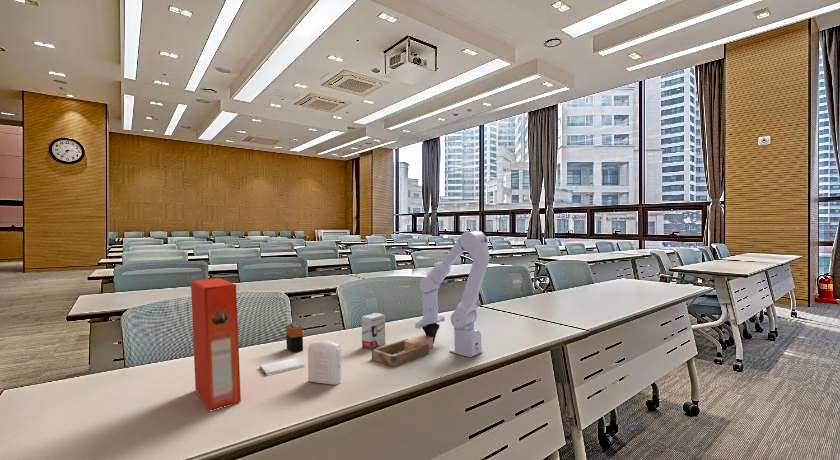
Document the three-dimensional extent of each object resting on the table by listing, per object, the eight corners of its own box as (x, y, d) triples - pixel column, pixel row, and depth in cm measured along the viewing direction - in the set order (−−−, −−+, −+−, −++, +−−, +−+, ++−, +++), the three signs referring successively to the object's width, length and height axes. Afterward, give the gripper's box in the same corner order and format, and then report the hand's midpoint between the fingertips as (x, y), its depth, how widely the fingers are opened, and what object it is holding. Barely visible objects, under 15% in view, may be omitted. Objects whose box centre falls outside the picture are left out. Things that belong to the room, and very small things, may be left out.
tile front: (423, 351, 146) (423, 340, 146) (414, 354, 142) (414, 343, 142) (414, 348, 149) (414, 337, 149) (404, 351, 146) (404, 340, 146)
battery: (297, 346, 155) (297, 320, 154) (303, 350, 149) (302, 324, 149) (286, 348, 152) (285, 322, 152) (291, 353, 146) (291, 326, 146)
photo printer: (343, 380, 120) (342, 340, 120) (336, 386, 116) (335, 344, 116) (314, 377, 123) (313, 337, 123) (306, 382, 119) (305, 341, 119)
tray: (429, 353, 143) (428, 344, 143) (393, 366, 131) (393, 357, 131) (407, 347, 151) (406, 338, 151) (371, 358, 139) (371, 349, 139)
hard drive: (266, 372, 125) (304, 363, 132) (259, 365, 132) (296, 356, 139) (266, 377, 125) (304, 368, 132) (259, 370, 132) (296, 361, 139)
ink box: (370, 349, 149) (369, 318, 149) (361, 347, 152) (360, 316, 152) (386, 343, 156) (385, 313, 155) (376, 341, 159) (376, 312, 158)
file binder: (207, 412, 102) (203, 287, 101) (194, 390, 115) (190, 280, 114) (240, 402, 107) (237, 284, 106) (224, 383, 120) (221, 277, 119)
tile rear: (433, 347, 149) (432, 337, 149) (423, 351, 146) (423, 340, 146) (423, 345, 153) (423, 334, 153) (414, 348, 149) (414, 337, 149)
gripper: (435, 303, 160) (435, 337, 160) (409, 309, 149) (410, 345, 150) (448, 305, 155) (449, 340, 155) (422, 312, 145) (423, 349, 145)
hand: (430, 343), depth 152 cm, fingers closed
